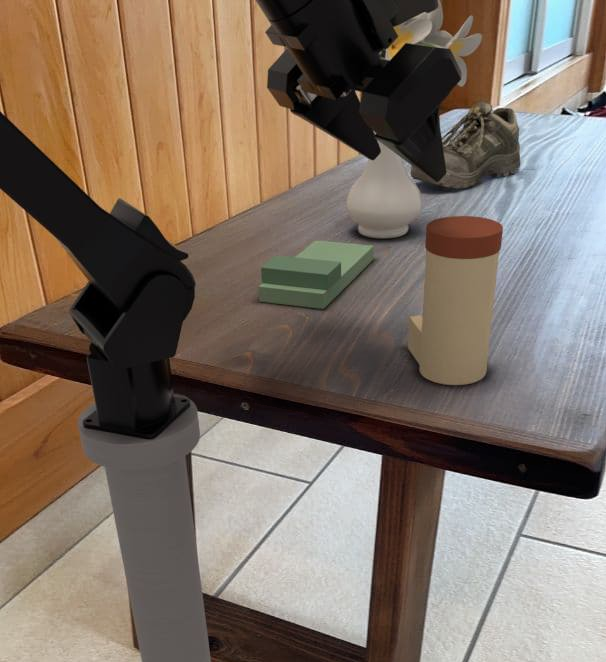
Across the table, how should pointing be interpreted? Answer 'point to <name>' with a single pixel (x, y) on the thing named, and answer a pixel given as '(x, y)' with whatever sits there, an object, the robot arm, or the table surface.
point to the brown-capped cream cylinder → (457, 299)
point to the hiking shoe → (479, 147)
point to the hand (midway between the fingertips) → (407, 166)
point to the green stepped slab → (313, 274)
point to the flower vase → (388, 169)
